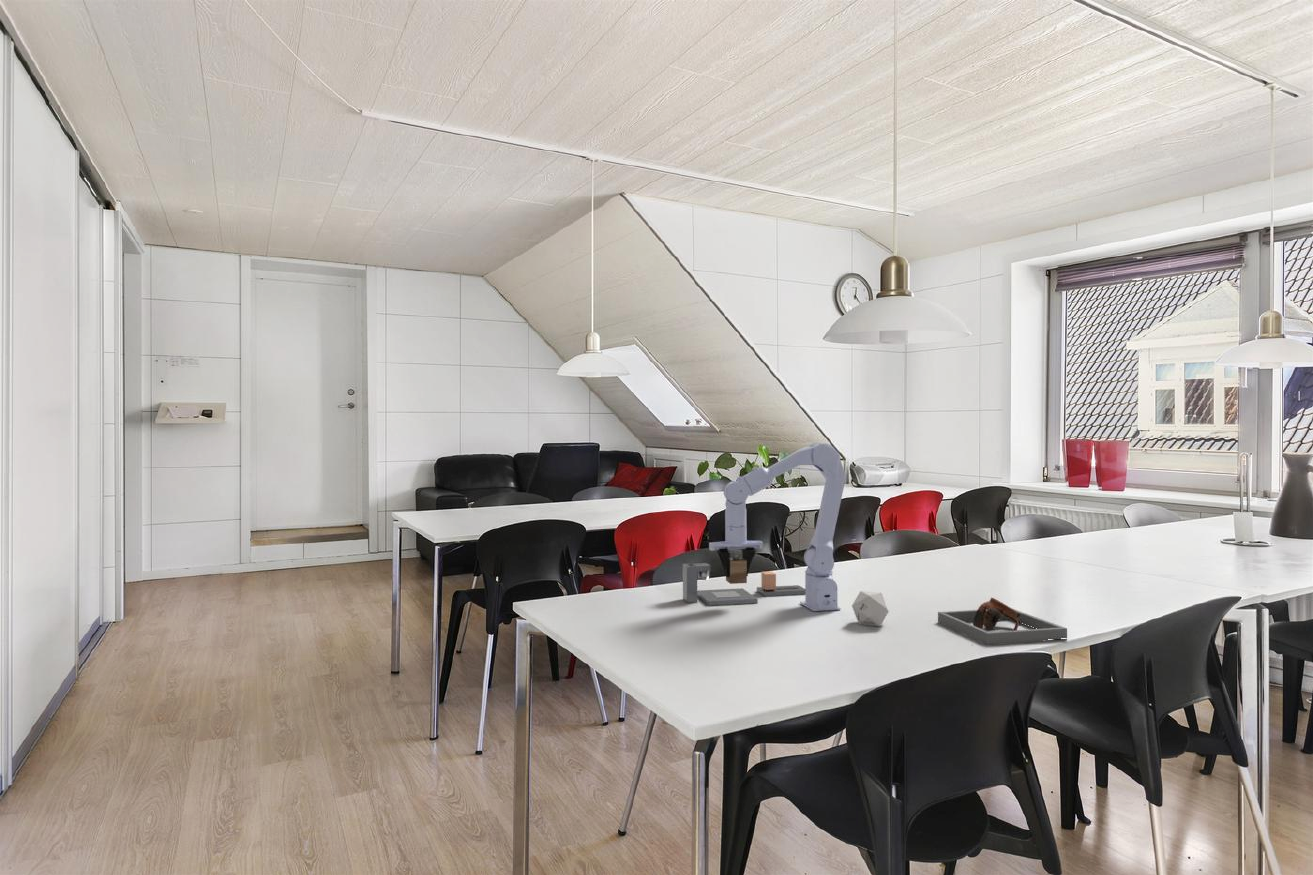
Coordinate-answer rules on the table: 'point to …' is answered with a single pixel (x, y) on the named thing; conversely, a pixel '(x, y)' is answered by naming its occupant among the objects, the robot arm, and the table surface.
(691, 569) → the press
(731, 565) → the block
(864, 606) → the die
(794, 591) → the base
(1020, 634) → the tray
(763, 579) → the peach small block
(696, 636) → the table surface
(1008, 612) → the brown arched piece
